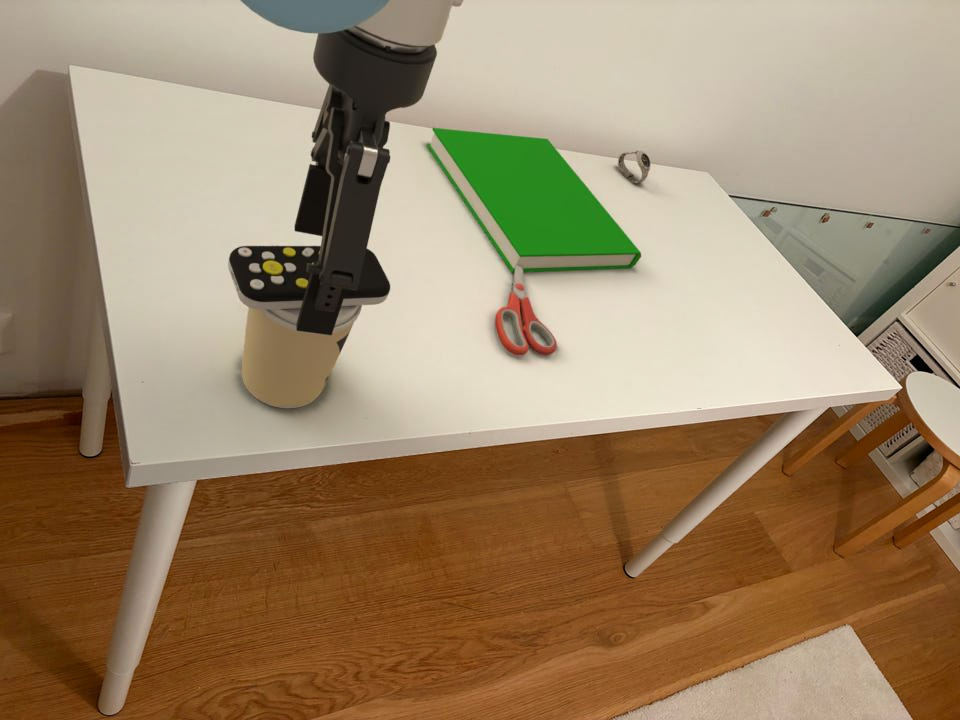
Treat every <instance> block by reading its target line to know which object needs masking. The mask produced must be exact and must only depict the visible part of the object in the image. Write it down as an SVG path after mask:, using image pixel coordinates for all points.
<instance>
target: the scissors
mask: <svg viewBox="0 0 960 720" xmlns="http://www.w3.org/2000/svg"><path fill="white" fill-rule="evenodd" d="M524 277H525V276H524V272H523V265H515V272H513V282H512V283H511V286H512V288H511V292H510V293H509V296H508V303H507V305H506V306H503V307H500V308H499V309H498V310H497V312H496V314H495V319H494V325H495V330H496V331H495V332H496V334H497V337H498V340H499V341H500V344H501V345H502V347H503V349H504V350H506V351H507V352H508V353H509V354H512V355H514V356H525V355H526V354H527V353H528V352H529V348H530V349H531V350H532V351H533V352H535V353H536V354H539V355H543V356H549V355H553V353H555V351H556V350H557V347H558V346H557V340H556V338H555V336H554V335H553V333H552V332H551V330H549V328H548V327H547V326H546V325H545V324H544V323H542V321H540V320H539V319H538V317H537V316H536V314H535V312H534V311H533V307H532V303H531V301H530V298H529V296H526V285H525V279H524ZM505 317H506V318H508V319H509V320H511V321H512V326H513V332H514V336H515V339H516V342H517V344H518V345H517V344H515V343H514V342H513V341H512V340H511V339H510V338H509V336H508V334H507V331H506V329H505V325H504V318H505ZM532 330H535V331H536V332H537V333H539V335H541V336H542V337H543V339H544V340H545V342H546V343H547V345H543V344H541V343H540V342H538V341H537V339H536V338H535V336H533V333H532Z"/></svg>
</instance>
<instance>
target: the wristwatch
mask: <svg viewBox="0 0 960 720" xmlns="http://www.w3.org/2000/svg"><path fill="white" fill-rule="evenodd" d="M633 154H635V156H636V163H637V166H638V167H639V169H640V171H641V178H640V179H639V180H638V179H637V178H635V177H634V176H635V175H634V174H633V173H631V172H630V171H629V169H628V168H627V166H626V163H625V157H626V156H627V155H633ZM617 165H618V170H619V171H620V173H621V174H622V176H624V177H625V178H626V179H628V180H629V182H631V183H632V184H641V183H643V182H644V181H646V179H647V178H648V176H649V172H650V170H651V165H652V164H651V159H650V157H649V155H648V154H646V152H644V151H642V150H635V151H624V152H622V153H621V154H620V155H619V156H618V159H617Z"/></svg>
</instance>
